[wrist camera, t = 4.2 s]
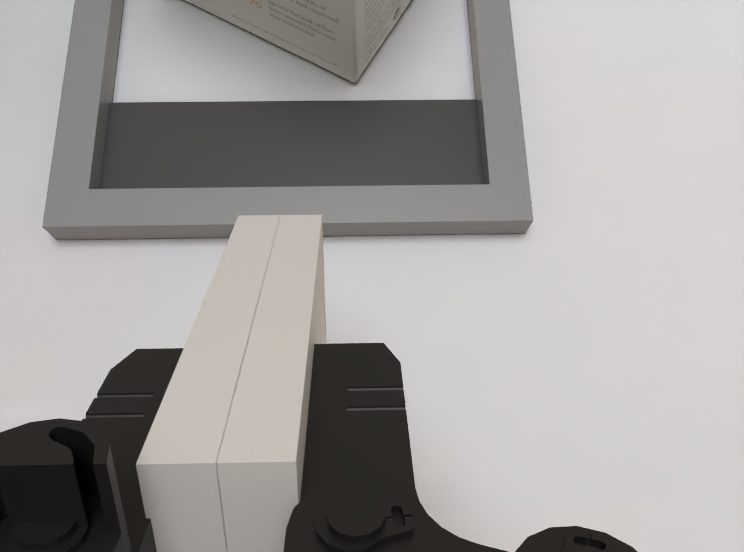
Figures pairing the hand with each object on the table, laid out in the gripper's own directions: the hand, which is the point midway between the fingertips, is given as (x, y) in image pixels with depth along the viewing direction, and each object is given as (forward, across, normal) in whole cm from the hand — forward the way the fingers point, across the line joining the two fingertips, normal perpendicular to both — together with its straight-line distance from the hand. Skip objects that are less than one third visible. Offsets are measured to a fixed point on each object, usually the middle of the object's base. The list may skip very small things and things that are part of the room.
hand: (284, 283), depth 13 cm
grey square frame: (+14, -1, +3) cm, 14 cm away
